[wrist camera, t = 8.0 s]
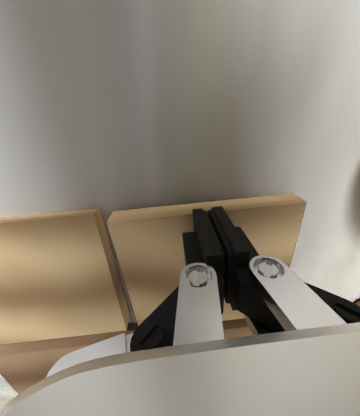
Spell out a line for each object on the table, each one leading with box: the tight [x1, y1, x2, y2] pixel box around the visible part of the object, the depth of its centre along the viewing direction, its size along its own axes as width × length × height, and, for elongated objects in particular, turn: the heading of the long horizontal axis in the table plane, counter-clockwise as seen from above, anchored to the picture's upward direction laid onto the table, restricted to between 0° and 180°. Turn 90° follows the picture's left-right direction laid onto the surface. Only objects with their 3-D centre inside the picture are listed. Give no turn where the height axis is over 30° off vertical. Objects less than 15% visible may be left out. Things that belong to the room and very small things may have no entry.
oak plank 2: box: [107, 193, 307, 326], centre depth 13 cm, size 10×11×1 cm
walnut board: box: [0, 318, 253, 394], centre depth 18 cm, size 9×24×1 cm, turn 95°
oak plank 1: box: [0, 208, 130, 345], centre depth 13 cm, size 10×11×1 cm
